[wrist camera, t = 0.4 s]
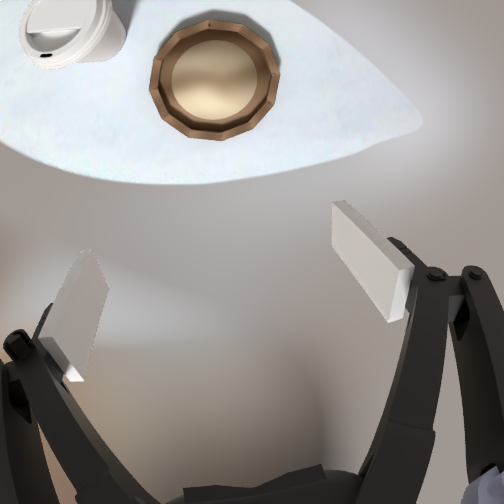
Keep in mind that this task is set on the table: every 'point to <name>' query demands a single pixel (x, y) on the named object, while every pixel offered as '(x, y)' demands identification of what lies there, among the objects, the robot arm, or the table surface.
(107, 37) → the coffee cup
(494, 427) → the robot arm
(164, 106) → the polygonal wooden dish
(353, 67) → the table surface
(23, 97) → the table surface
